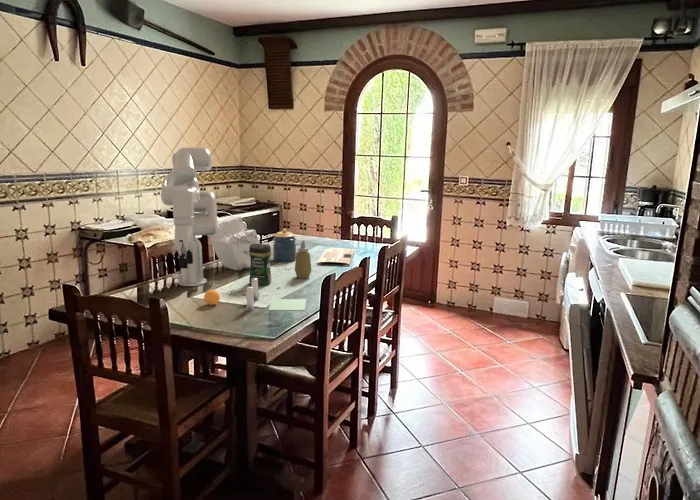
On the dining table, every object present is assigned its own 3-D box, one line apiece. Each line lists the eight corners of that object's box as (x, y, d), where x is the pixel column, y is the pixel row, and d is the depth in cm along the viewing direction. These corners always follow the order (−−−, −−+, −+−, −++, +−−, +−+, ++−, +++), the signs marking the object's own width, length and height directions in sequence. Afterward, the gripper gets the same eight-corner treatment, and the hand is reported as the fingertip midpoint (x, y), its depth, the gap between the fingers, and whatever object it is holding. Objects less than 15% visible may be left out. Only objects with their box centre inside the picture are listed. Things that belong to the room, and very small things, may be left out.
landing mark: (268, 310, 193) (268, 309, 193) (272, 299, 207) (272, 299, 207) (304, 310, 194) (304, 309, 194) (306, 299, 208) (306, 299, 208)
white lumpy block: (268, 262, 260) (252, 219, 250) (243, 277, 251) (226, 232, 241) (246, 256, 275) (231, 215, 264) (222, 270, 265) (205, 228, 255)
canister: (298, 257, 286) (298, 227, 283) (293, 262, 274) (293, 230, 270) (276, 256, 287) (275, 226, 284) (270, 261, 275) (269, 230, 271)
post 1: (246, 310, 192) (245, 288, 190) (247, 308, 195) (246, 286, 193) (253, 310, 192) (252, 288, 190) (254, 308, 195) (253, 286, 193)
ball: (202, 306, 196) (202, 292, 195) (206, 302, 202) (205, 287, 201) (218, 306, 196) (217, 292, 195) (221, 302, 202) (220, 287, 201)
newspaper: (349, 267, 268) (349, 262, 268) (313, 265, 270) (313, 260, 269) (354, 253, 304) (354, 248, 304) (322, 252, 306) (322, 247, 305)
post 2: (251, 300, 205) (250, 279, 203) (252, 298, 208) (251, 277, 206) (257, 300, 205) (257, 279, 203) (258, 298, 208) (258, 277, 206)
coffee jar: (247, 284, 229) (246, 244, 225) (254, 280, 236) (253, 241, 232) (266, 286, 226) (266, 246, 223) (273, 282, 234) (273, 243, 230)
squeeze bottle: (311, 275, 248) (311, 239, 244) (311, 279, 240) (311, 242, 236) (295, 274, 248) (295, 239, 244) (294, 279, 240) (294, 242, 236)
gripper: (180, 217, 200) (182, 261, 204) (166, 224, 183) (169, 271, 187) (199, 217, 201) (201, 261, 204) (187, 224, 184) (189, 271, 187)
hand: (186, 265), depth 196 cm, fingers open, 7 cm apart
